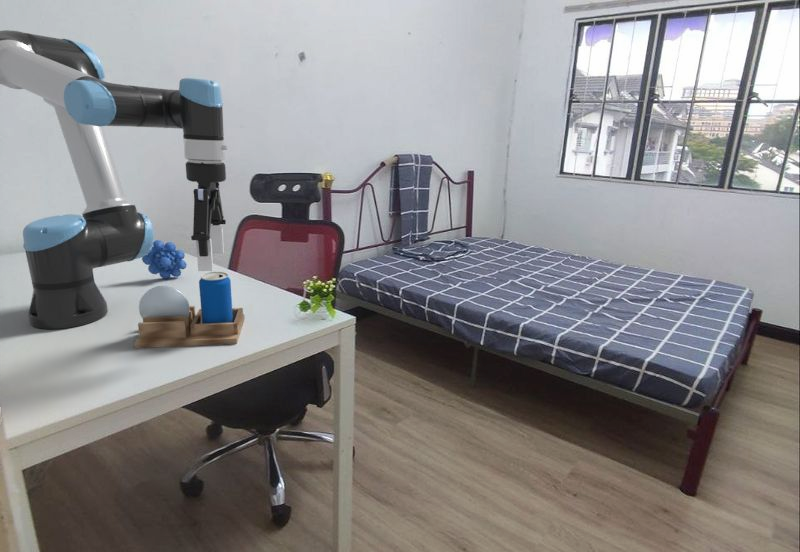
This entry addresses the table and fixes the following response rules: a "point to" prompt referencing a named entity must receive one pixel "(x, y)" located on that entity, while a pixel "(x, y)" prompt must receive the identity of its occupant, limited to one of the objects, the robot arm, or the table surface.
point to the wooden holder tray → (188, 330)
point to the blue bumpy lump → (165, 260)
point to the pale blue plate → (163, 303)
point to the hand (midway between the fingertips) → (211, 261)
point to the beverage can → (216, 298)
